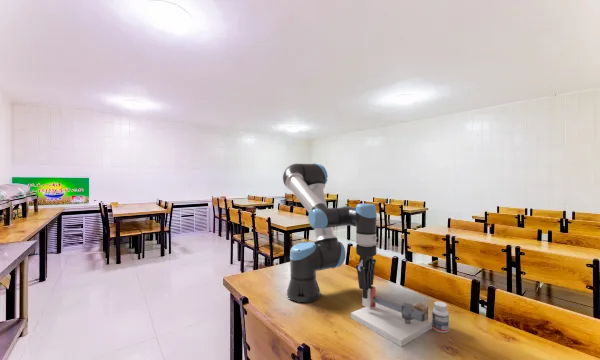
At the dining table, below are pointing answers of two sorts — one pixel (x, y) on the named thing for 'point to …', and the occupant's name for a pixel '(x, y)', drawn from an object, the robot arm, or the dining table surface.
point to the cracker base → (391, 324)
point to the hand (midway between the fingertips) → (366, 305)
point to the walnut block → (422, 309)
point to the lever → (397, 307)
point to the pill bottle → (440, 317)
